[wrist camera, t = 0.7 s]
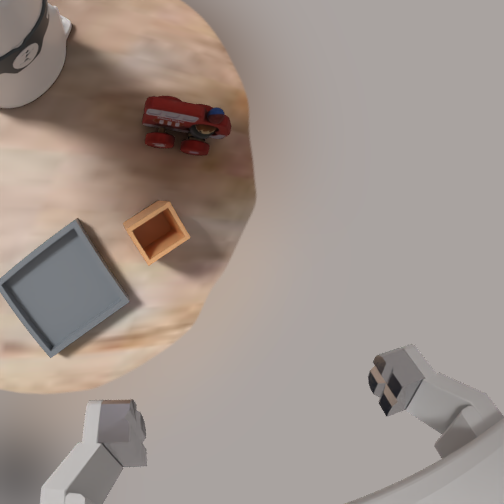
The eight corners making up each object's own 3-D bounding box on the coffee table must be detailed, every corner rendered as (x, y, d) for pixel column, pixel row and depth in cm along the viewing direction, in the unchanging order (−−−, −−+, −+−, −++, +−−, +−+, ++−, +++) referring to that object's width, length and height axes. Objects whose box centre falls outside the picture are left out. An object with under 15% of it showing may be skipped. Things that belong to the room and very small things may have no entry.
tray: (52, 350, 40) (50, 358, 37) (-1, 278, 35) (-6, 283, 32) (128, 296, 44) (129, 301, 42) (77, 218, 39) (75, 219, 37)
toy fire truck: (214, 159, 46) (242, 151, 37) (133, 144, 41) (139, 130, 31) (222, 116, 45) (251, 99, 36) (143, 99, 40) (154, 74, 31)
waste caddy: (141, 252, 44) (148, 265, 36) (122, 223, 42) (125, 229, 34) (175, 229, 45) (190, 237, 37) (158, 200, 44) (169, 201, 36)
